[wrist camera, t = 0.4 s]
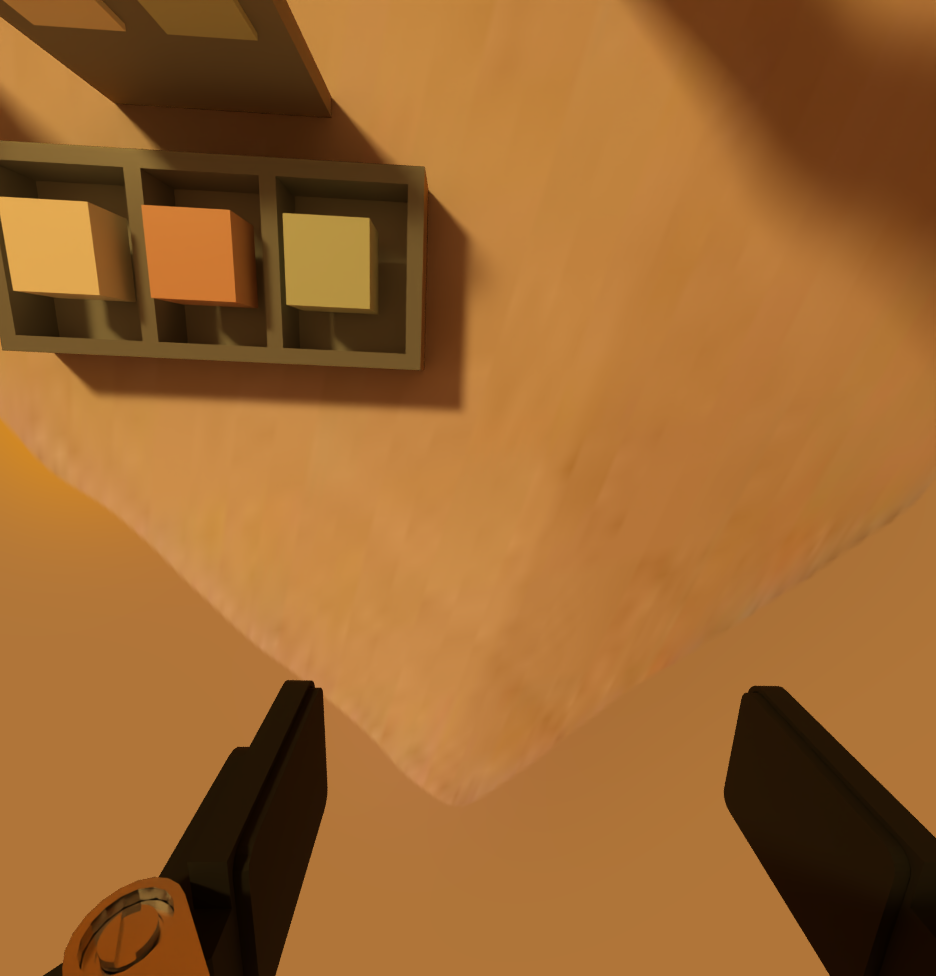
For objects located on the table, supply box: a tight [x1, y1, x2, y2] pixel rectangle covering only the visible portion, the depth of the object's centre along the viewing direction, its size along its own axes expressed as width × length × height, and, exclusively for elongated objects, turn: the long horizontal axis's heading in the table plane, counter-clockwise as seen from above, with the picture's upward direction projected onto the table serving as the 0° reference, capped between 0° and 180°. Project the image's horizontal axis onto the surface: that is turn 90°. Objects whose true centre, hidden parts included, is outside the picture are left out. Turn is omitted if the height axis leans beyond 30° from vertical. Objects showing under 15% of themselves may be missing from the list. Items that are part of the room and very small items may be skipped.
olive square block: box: [283, 213, 379, 314], centre depth 30 cm, size 5×5×3 cm
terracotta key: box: [141, 205, 258, 308], centre depth 30 cm, size 5×5×3 cm
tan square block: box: [0, 197, 136, 302], centre depth 30 cm, size 5×5×3 cm
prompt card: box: [0, 0, 332, 118], centre depth 25 cm, size 2×14×14 cm, turn 87°
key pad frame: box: [0, 140, 428, 370], centre depth 32 cm, size 12×27×4 cm, turn 87°
